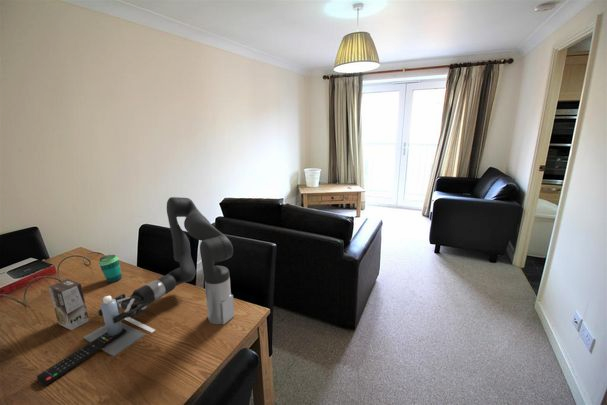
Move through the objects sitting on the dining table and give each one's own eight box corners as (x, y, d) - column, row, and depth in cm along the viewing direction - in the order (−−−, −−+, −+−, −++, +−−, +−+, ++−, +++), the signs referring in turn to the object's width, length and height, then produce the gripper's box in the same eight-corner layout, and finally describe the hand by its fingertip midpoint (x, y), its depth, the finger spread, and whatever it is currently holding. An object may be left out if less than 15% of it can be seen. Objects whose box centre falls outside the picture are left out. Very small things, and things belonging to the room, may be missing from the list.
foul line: (155, 330, 103) (155, 329, 103) (151, 333, 102) (151, 332, 102) (122, 314, 112) (122, 313, 112) (118, 316, 110) (118, 316, 110)
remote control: (127, 333, 101) (126, 330, 100) (44, 388, 80) (43, 384, 80) (117, 328, 103) (117, 325, 103) (35, 381, 82) (34, 377, 82)
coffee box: (90, 320, 108) (81, 283, 104) (71, 331, 103) (61, 292, 98) (76, 314, 112) (68, 278, 108) (57, 323, 106) (47, 286, 102)
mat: (145, 335, 101) (145, 334, 100) (113, 356, 91) (113, 355, 91) (115, 320, 108) (115, 319, 108) (83, 338, 99) (83, 337, 99)
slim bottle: (125, 329, 101) (117, 295, 97) (112, 337, 97) (103, 302, 93) (117, 325, 103) (109, 292, 99) (104, 333, 99) (96, 299, 95)
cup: (115, 284, 133) (110, 261, 130) (98, 284, 133) (93, 261, 130) (125, 275, 141) (121, 254, 138) (109, 275, 141) (105, 253, 138)
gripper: (136, 280, 112) (92, 302, 98) (160, 289, 106) (116, 313, 92) (139, 296, 114) (96, 320, 100) (162, 306, 108) (120, 333, 94)
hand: (106, 317), depth 96 cm, fingers open, 8 cm apart
